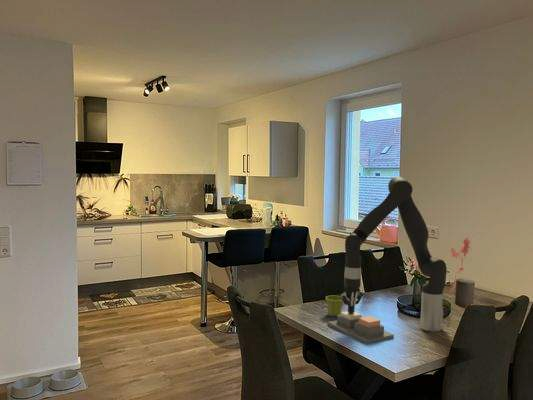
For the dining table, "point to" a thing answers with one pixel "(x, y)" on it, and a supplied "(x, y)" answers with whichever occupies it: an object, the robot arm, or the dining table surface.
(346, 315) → the cream key
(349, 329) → the key panel
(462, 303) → the pillar candle
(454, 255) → the pink flower sprig
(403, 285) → the dining table surface
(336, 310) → the plant pot
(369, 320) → the terracotta key
